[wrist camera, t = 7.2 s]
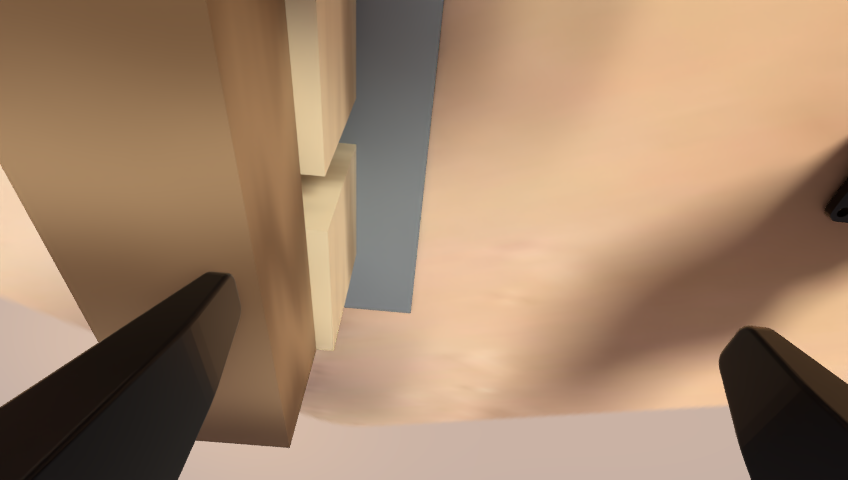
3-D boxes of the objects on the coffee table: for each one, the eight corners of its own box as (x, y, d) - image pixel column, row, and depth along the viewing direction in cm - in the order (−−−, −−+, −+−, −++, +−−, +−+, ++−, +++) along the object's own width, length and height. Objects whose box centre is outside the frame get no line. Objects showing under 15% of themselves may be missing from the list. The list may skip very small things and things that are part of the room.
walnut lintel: (316, 349, 18) (289, 447, 15) (201, 339, 18) (150, 436, 15) (277, -80, 9) (195, -58, 6) (55, -105, 9) (-142, -95, 6)
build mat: (472, -267, 12) (472, -268, 12) (410, 310, 26) (410, 313, 25) (1, -326, 12) (-6, -329, 11) (193, 291, 25) (192, 294, 25)
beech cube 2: (356, 144, 19) (327, 231, 14) (356, 253, 23) (333, 351, 18) (211, 130, 19) (135, 213, 14) (235, 242, 23) (180, 338, 18)
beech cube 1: (356, -91, 14) (312, -75, 9) (356, 97, 18) (324, 176, 13) (159, -113, 14) (16, -108, 9) (201, 82, 18) (113, 156, 13)
